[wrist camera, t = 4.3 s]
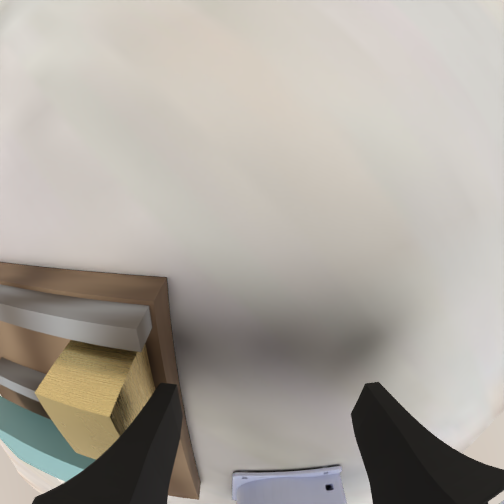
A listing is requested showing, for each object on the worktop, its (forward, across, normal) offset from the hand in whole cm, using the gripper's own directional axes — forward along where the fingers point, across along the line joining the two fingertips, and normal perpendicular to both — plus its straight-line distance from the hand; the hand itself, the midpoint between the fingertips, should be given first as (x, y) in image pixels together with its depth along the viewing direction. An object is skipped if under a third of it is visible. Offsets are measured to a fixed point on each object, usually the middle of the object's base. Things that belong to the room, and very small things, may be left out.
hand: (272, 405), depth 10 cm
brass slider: (+1, +7, 0) cm, 7 cm away
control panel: (+4, +12, +8) cm, 15 cm away
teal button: (0, +13, +8) cm, 15 cm away
